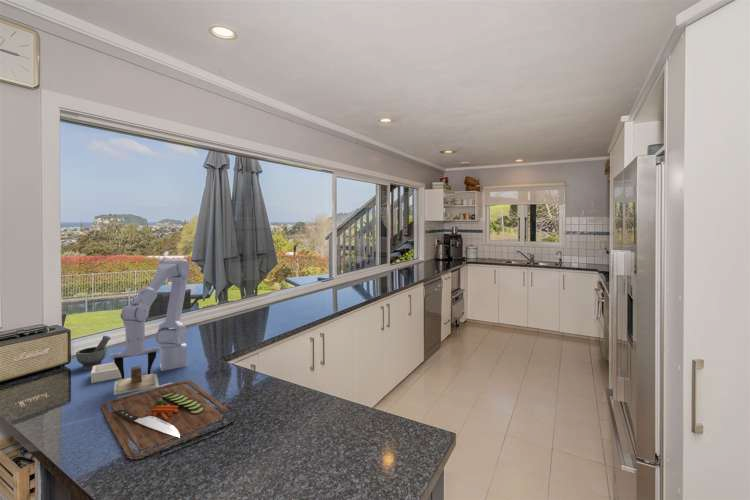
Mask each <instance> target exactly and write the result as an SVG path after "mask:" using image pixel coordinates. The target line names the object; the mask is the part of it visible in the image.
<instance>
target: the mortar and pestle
mask: <svg viewBox="0 0 750 500" xmlns="http://www.w3.org/2000/svg"><path fill="white" fill-rule="evenodd" d="M110 340H111V337H110V336H108V335H103V336H102V339H101V340H100V342H99V343H98V345H97V346H93V347H87V348H82V349H79V350H78V351H76V352H75V357H76V361H77V362H78V363H79V364H81V365H82V366H81V367H82V370H85V371H86V370H92V368H93V366H95V365H101V364H103V363H102V361H103V360H104V359H105V358H106V356H107V354H108V347H106V346H107V344H108V343H109V341H110Z"/></svg>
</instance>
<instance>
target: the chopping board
mask: <svg viewBox="0 0 750 500" xmlns="http://www.w3.org/2000/svg"><path fill="white" fill-rule="evenodd" d="M191 387H192V388H191ZM193 389H194V390H195V391H194V390H193ZM201 396H202V397H203V398H205V399H207V400H209V401H210V402H211V403H212V404H214V405H215V406H217V407H219V408H220V409H221V410H223V411H224V412H226V411H228V410H229V409H228V408H227V407H226V406H225V405H223V404H222V403H221V402H219V401H218V400H217V399H215V398H214V397H213V396H212V395H210V394H209V393H208V392H207V391H206V390H204V389H203V388H202V387H201V386H199V385H197V384H196V383H195V382H194V381H192V380H181V381H178V382H174V383H173V382H169V383H165V384H162V385H161V384H160V385H159V386H156V387H151V388H146V389H141V390H138V391H137V392H135V391H134V392H132V393H131V392H130V393H128V394H125V395H120V396H117V398H115V399H112V400H109V401H107V402H106V401H105V403H103V404H101V406H100V409H101V411H102V414H103V417H104V418H105V421H106V423H107V424H108V426H109V427H110V429H111V432H112V433H113V435H114V436H116V437H115V438H117V439H116V440H117V442H118V444H119V443H120V444H119V446H120V445H121V446H120V448H121V447H122V448H123V450H124V451H123V450H122V451H123V453H124V452H125V453H124V455H125V454H126V455H127V456H128V457H132V458H135V457H140V456H143V455H146V454H149V453H151V452H154V451H156V450H158V449H162V448H164V447H166V446H168V445H171V444H173V443H176V442H178V441H181V440H184V439H187V438H190V437H193V436H195V435H197V434H199V433H202V431H201V430H200V431H198V432H195V433H193V434H190V435H187V436H185V437H182V438H180V436H181V435H184V434H187V433H190V432H192V431H194V430H196V429H199V428H201V427H204V426H207V425H209V424H210V423H215V422H217V421H219V420H222V416H223V415H222V414H220V413H219V412H218V411H217V410H216V409H215V408H213V407H212V406H211V405H210V404H209V403H207V402H206V401H205V400H204V399H203V398H202V397H201ZM109 405H110V407H111V408H112V411H113V412H111V411H110V410H109V408H108V406H109ZM176 437H178V438H179V439H177V440H174V441H172V442H169V443H166V444H164V445H161V446H158V447H156V448H153V449H150V450H148V451H145V452H142V453H134V452H133V450H132V449H131V447H130V445H129V441H128V439H129V440H130V441H132V442H133V443H134V444H135V445H136V446H137V448H138V449H139V450H140V451H141V450H144V449H147V448H149V447H152V446H155V445H158V444H160V443H163V442H165V441H168V440H171V439H173V438H176ZM122 448H121V449H122ZM126 455H125V456H126Z"/></svg>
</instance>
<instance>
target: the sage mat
mask: <svg viewBox="0 0 750 500" xmlns="http://www.w3.org/2000/svg"><path fill="white" fill-rule="evenodd" d="M154 378H155V386H150V387H145V388H141V389H136V390H131V391H126V392H121V393H117V388H118V380H115V381H114V387H113V396H117V395H122V394H126V393H131V392H132V393H133V392H135V391H137V392H138V391H142V390H146V389H150V388H153V387H157V386H160V385H159V379H158V374H157V373H156V374H155V373H154Z"/></svg>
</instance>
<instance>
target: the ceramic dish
mask: <svg viewBox="0 0 750 500" xmlns="http://www.w3.org/2000/svg"><path fill="white" fill-rule="evenodd" d="M119 379H122V377H121V373H120V371H119V369H118V367H117V366H116V364H115V363H114V362H110V363H109V362H108V363H102V364H101V365H95V366H93V368H92V369H91V372H90V383H91V384H96V383H102V382H105V381H107V382H108V381H111V380H119Z"/></svg>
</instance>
